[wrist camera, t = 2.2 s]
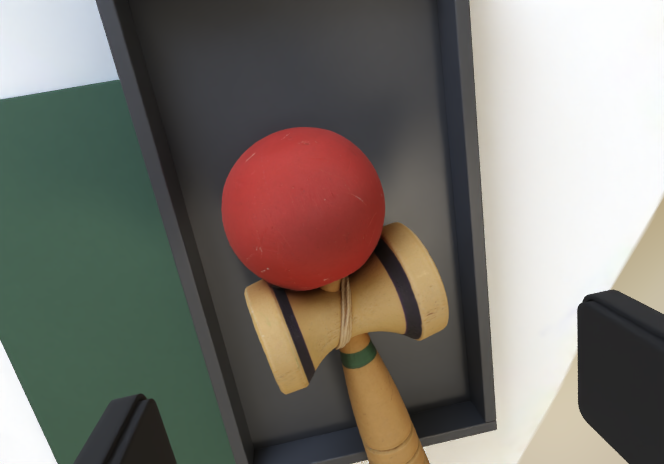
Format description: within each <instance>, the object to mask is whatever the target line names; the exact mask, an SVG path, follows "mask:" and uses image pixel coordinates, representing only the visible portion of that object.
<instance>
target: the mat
mask: <svg viewBox="0 0 664 464" xmlns="http://www.w3.org/2000/svg"><path fill="white" fill-rule="evenodd" d="M0 340H1V342H2V344H3V347H4V349H5V351H6V353H7V355H8V357H9V360H10V362H11V364H12V366H13V368H14V370H15V373H16V375H17V377H18V379H19V381H20V383H21V385H22V388H23V390H24V392H25V394H26V396H27V398H28V401H29V403H30V405H31V407H32V409H33V411H34V414H35V416H36V418H37V420H38V422H39V424H40V426H41V429H42V431H43V433H44V435H45V437H46V439H47V442H48V444H49V446H50V448H51V450H52V452H53V455H54V457H55V459H56V461H57V463H58V464H73V463H74V461H75V460H76V458H77V456H78V455H79V453H80V451H81V450H82V448H83V446H84V445H85V443H86V441H87V440H88V438H89V436H90V435H91V433H92V431H93V430H94V428H95V426H96V424H97V423H98V421H99V419H100V418H101V416H102V414H103V413H104V411H105V409H106V408H107V406H108V404H109V403H110V402H111V401H112V400H114V399H118V398H122V397H127V396H131V395H136V394H140V393H141V394H144V395H145V396H146V398H147V399H151V398H152V399H154V400H155V402H156V404H157V406H158V409H159V412H160V415H161V418H162V421H163V424H164V427H165V430H166V433H167V436H168V439H169V441H170V444H171V447H172V450H173V453H174V456H175V459H176V462H177V464H236V463H235V460H234V456H233V453H232V450H231V446H230V443H229V440H228V436H227V433H226V430H225V427H224V423H223V420H222V417H221V413H220V410H219V407H218V403H217V400H216V397H215V393H214V390H213V387H212V384H211V380H210V377H209V374H208V370H207V367H206V364H205V360H204V357H203V354H202V350H201V347H200V344H199V341H198V337H197V334H196V331H195V327H194V324H193V321H192V317H191V314H190V311H189V307H188V304H187V301H186V298H185V294H184V291H183V288H182V284H181V281H180V278H179V274H178V271H177V268H176V264H175V261H174V258H173V255H172V251H171V248H170V245H169V241H168V238H167V235H166V231H165V228H164V225H163V222H162V218H161V215H160V212H159V208H158V205H157V202H156V198H155V195H154V192H153V188H152V185H151V182H150V179H149V175H148V172H147V169H146V165H145V162H144V159H143V155H142V152H141V149H140V145H139V142H138V139H137V136H136V132H135V129H134V126H133V122H132V119H131V116H130V112H129V109H128V106H127V102H126V99H125V96H124V93H123V89H122V86H121V83H120V80H114V81H108V82H102V83H96V84H90V85H85V86H79V87H73V88H67V89H61V90H55V91H49V92H43V93H37V94H31V95H26V96H20V97H14V98H8V99H2V100H0Z"/></svg>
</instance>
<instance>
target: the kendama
mask: <svg viewBox="0 0 664 464" xmlns="http://www.w3.org/2000/svg"><path fill="white" fill-rule="evenodd" d="M221 211H222V222H223V226H224V230H225V233H226V236H227V239H228V241H229V244H230V246H231V247H232V249H233V251H234V253H235V254H236V255H237V257H238V258H239V259H240V261H241V262H242V263H243V264H244V265H245V266H246V267H247V268H248V269H249V270H250V271H252V272H253V273H254V274H255V275H257V276H258V277H260V278H262V280H260V281H258V282H256V283H253V284H251V285H250V286H248V287H246V289H245V292H244V295H245V299H246V303H247V307H248V309H249V313H250V315H251V317H252V321H253V324H254V327H255V330H256V332H257V335H258V338H259V340H260V342H261V344H262V348H263V350H264V352H265V354H266V357H267V360H268V363H269V365H270V367H271V370H272V373H273V375H274V378H275V380H276V382H277V384H278V386H279V388H280V390H281V392H282V393H284V394H289V393H292V392H295V391H297V390H300V389H303V388H306V387H307V386H308V385H309V383H310V381H311V379H312V377H313V376H314V373H315V371H316V369H317V368H318V366H319V364H320V363H321V362H322V360H323V359H324V358H325V357H326V355H327V354H328V353H329V352H331V351H332V350H333V349H334V348H335V349H336V350H337V349H339V350H340V357H341V362H342V366H343V371H344V375H345V380H346V385H347V389H348V394H349V398H350V401H351V405H352V409H353V413H354V416H355V419H356V423H357V426H358V429H359V433H360V436H361V438H362V441H363V445H364V448H365V451H366V454H367V457H368V460H369V464H430V463H429V460H428V458H427V456H426V454H425V451H424V449H423V447H422V445H421V442H420V440H419V438H418V436H417V433H416V430H415V428H414V426H413V423H412V421H411V419H410V416H409V414H408V411H407V409H406V407H405V404H404V402H403V400H402V398H401V396H400V393H399V391H398V389H397V387H396V385H395V383H394V381H393V379H392V377H391V375H390V373H389V371H388V370H387V368H386V366H385V364H384V362H383V360H382V358H381V357H380V355H379V353H378V351H377V350H376V348H375V346H374V344H373V343H372V341H371V339H370V336H369V335H368V332H377V331H384V332H394V333H399V334H401V335H405V336H408V337H410V338H413V339H415V340H417V341H421V340H423V339H425V338H427V337H429V336H431V335H433V334H435V333H437V332H439V331H441V330H443V329H444V328H445V327H446V326H447V323H448V319H449V309H448V300H447V296H446V292H445V288H444V285H443V282H442V279H441V277H440V275H439V272H438V269H437V267H436V265H435V263H434V261H433V259H432V258H431V256H430V255H429V253H428V251H427V249H426V248H425V246H424V245H423V244H422V242H421V241H420V239H419V238H418V237H417V236H416V235H415V234H414V233H413V232H412V231H411V230H410V229H409V228H408V227H406V226H405V225H403V224H402V223H399V222H394V223H391V224H388V225H386V226H383V224H384V217H385V198H384V192H383V188H382V185H381V182H380V179H379V177H378V174H377V172H376V170H375V168H374V167H373V165H372V164H371V162H370V161H369V159H368V158H367V156H366V155H365V154H364V153H363V152H362V151H361V150H360V149H359V148H358V147H357V146H355V145H354V144H353V143H352V142H351V141H349V140H348V139H346V138H345V137H343V136H341V135H339V134H337V133H335V132H332V131H330V130H326V129H320V128H312V127H295V128H289V129H284V130H281V131H278V132H275V133H272V134H270V135H268V136H266V137H264V138H262V139H261V140H259V141H257V142H256V143H254V144H253V145H252V146H251V147H249V148H248V149H247V150H246V151H245V152H244V153H243V154H242V155H241V156H240V158H239V159H238V160H237V161H236V163H235V164H234V166H233V168H232V169H231V171H230V173H229V175H228V177H227V179H226V182H225V185H224V189H223V194H222V207H221Z"/></svg>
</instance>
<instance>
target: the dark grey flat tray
mask: <svg viewBox="0 0 664 464" xmlns="http://www.w3.org/2000/svg"><path fill="white" fill-rule="evenodd" d="M96 3H97V7H98V10H99V13H100V16H101V20H102V23H103V26H104V30H105V33H106V36H107V40H108V43H109V46H110V50H111V53H112V56H113V59H114V63H115V66H116V69H117V73H118V76H119V79H120V83H121V86H122V89H123V93H124V96H125V99H126V102H127V106H128V109H129V112H130V116H131V119H132V122H133V126H134V129H135V132H136V136H137V139H138V142H139V145H140V149H141V152H142V155H143V159H144V162H145V165H146V169H147V172H148V175H149V179H150V182H151V185H152V188H153V192H154V195H155V198H156V202H157V205H158V208H159V212H160V215H161V218H162V222H163V225H164V228H165V231H166V235H167V238H168V241H169V245H170V248H171V251H172V255H173V258H174V261H175V264H176V268H177V271H178V274H179V278H180V281H181V284H182V288H183V291H184V294H185V298H186V301H187V304H188V307H189V311H190V314H191V317H192V321H193V324H194V327H195V331H196V334H197V337H198V341H199V344H200V347H201V350H202V354H203V357H204V360H205V364H206V367H207V370H208V374H209V377H210V380H211V384H212V387H213V390H214V393H215V397H216V400H217V403H218V407H219V410H220V413H221V417H222V420H223V423H224V427H225V430H226V433H227V436H228V440H229V443H230V446H231V450H232V453H233V456H234V460H235V463H236V464H352V463H356V462H360V461H365V460H368V457H367V454H366V451H365V448H364V445H363V441H362V438H361V436H360V433H359V429H358V426H357V423H356V419H355V416H354V413H353V409H352V405H351V401H350V398H349V394H348V389H347V385H346V380H345V375H344V371H343V366H342V362H341V357H340V350H339V349H337V350H336V349H335V348H334V349H333V350H332V351H331V352H329V353H328V354H327V355H326V357H325V358H324V359H323V360H322V362H321V363H320V364H319V366H318V368H317V369H316V371H315V373H314V376H313V377H312V379H311V381H310V383H309V385H308V386H307V387H306V388H303V389H300V390H297V391H295V392H292V393H289V394H284V393H282V392H281V390H280V388H279V386H278V384H277V382H276V380H275V378H274V375H273V373H272V370H271V367H270V365H269V363H268V360H267V357H266V354H265V352H264V350H263V348H262V344H261V342H260V340H259V338H258V335H257V332H256V330H255V327H254V324H253V321H252V317H251V315H250V313H249V309H248V307H247V303H246V299H245V295H244V292H245V289H246V287H248V286H250V285H251V284H253V283H256V282H258V281H260V280H262V278H260V277H258V276H257V275H255V274H254V273H253V272H252V271H250V270H249V269H248V268H247V267H246V266H245V265H244V264H243V263H242V262H241V261H240V259H239V258H238V257H237V255H236V254H235V253H234V251H233V249H232V247H231V246H230V244H229V241H228V239H227V236H226V233H225V230H224V226H223V222H222V211H221V207H222V194H223V189H224V185H225V182H226V179H227V177H228V175H229V173H230V171H231V169H232V168H233V166H234V164H235V163H236V161H237V160H238V159H239V158H240V156H241V155H242V154H243V153H244V152H245V151H246V150H247V149H248V148H249V147H251V146H252V145H253V144H254V143H256V142H257V141H259V140H261V139H262V138H264V137H266V136H268V135H270V134H272V133H275V132H278V131H281V130H284V129H289V128H295V127H312V128H320V129H326V130H330V131H332V132H335V133H337V134H339V135H341V136H343V137H345V138H346V139H348V140H349V141H351V142H352V143H353V144H354V145H355V146H357V147H358V148H359V149H360V150H361V151H362V152H363V153H364V154H365V155H366V156H367V158H368V159H369V161H370V162H371V164H372V165H373V167H374V168H375V170H376V172H377V174H378V177H379V179H380V182H381V185H382V188H383V192H384V198H385V217H384V224H383V226H386V225H388V224H391V223H394V222H399V223H402V224H403V225H405V226H406V227H408V228H409V229H410V230H411V231H412V232H413V233H414V234H415V235H416V236H417V237H418V238H419V239H420V241H421V242H422V244H423V245H424V246H425V248H426V249H427V251H428V253H429V255H430V256H431V258H432V259H433V261H434V263H435V265H436V267H437V269H438V272H439V275H440V277H441V279H442V282H443V285H444V288H445V292H446V296H447V300H448V309H449V319H448V323H447V326H446V327H445V328H444V329H443V330H441V331H439V332H437V333H435V334H433V335H431V336H429V337H427V338H425V339H423V340H421V341H417V340H415V339H413V338H410V337H408V336H405V335H401V334H399V333H394V332H384V331H377V332H368V335H369V336H370V339H371V341H372V343H373V344H374V346H375V348H376V350H377V351H378V353H379V355H380V357H381V358H382V360H383V362H384V364H385V366H386V368H387V370H388V371H389V373H390V375H391V377H392V379H393V381H394V383H395V385H396V387H397V389H398V391H399V393H400V396H401V398H402V400H403V402H404V404H405V407H406V409H407V411H408V414H409V416H410V419H411V421H412V423H413V426H414V428H415V430H416V433H417V436H418V438H419V440H420V442H421V445H422V447H424V446H429V445H433V444H437V443H442V442H446V441H450V440H454V439H459V438H463V437H467V436H471V435H476V434H480V433H484V432H489V431H493V430H496V429H497V425H496V409H495V394H494V378H493V363H492V347H491V332H490V316H489V301H488V285H487V270H486V254H485V239H484V223H483V208H482V192H481V177H480V161H479V145H478V130H477V114H476V99H475V83H474V68H473V52H472V37H471V21H470V6H469V0H96Z"/></svg>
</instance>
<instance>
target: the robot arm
mask: <svg viewBox="0 0 664 464" xmlns="http://www.w3.org/2000/svg"><path fill="white" fill-rule="evenodd" d="M577 324H578V405H579V409H580V412H581V414H582V416H583V418H584V419H585V420H586V422H587V423H588V424H589V425H590V426H591V427H592V428H593V429H594V430H595V431H596V432H597V433H598V434H599V435H600V436H601V437H602V438H604V440H605V441H606V442H607V443H608V444H609V445H610V446H612V447H613V448H614V449H615V450H616V451H617V452H618V453H619V454H620V455H621V456H622V457H623V458H624V459H625V460H626V461H627V462H628V463H629V464H664V314H662V313H660V312H658V311H656V310H654V309H652V308H650V307H648V306H646V305H644V304H642V303H641V302H639V301H636V300H635V299H632V298H631V297H629V296H627V295H625V294H623V293H621V292H619V291H616V290H608V291H603V292H599V293H594V294H590V295H587V296H585V297H584V299H583V302H582V303H581V304H579V306H578V310H577ZM73 464H177V462H176V459H175V456H174V453H173V450H172V447H171V444H170V441H169V439H168V436H167V433H166V430H165V427H164V424H163V421H162V418H161V415H160V412H159V409H158V406H157V404H156V402H155V400H154V399H152V398H151V399H147V398H146V396H145V395H144V394H141V393H140V394H136V395H131V396H127V397H122V398H118V399H114V400H112V401H111V402H110V403H109V404H108V406H107V408H106V409H105V411H104V413H103V414H102V416H101V418H100V419H99V421H98V423H97V424H96V426H95V428H94V430H93V431H92V433H91V435H90V436H89V438H88V440H87V441H86V443H85V445H84V446H83V448H82V450H81V451H80V453H79V455H78V456H77V458H76V460H75V461H74V463H73Z"/></svg>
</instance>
